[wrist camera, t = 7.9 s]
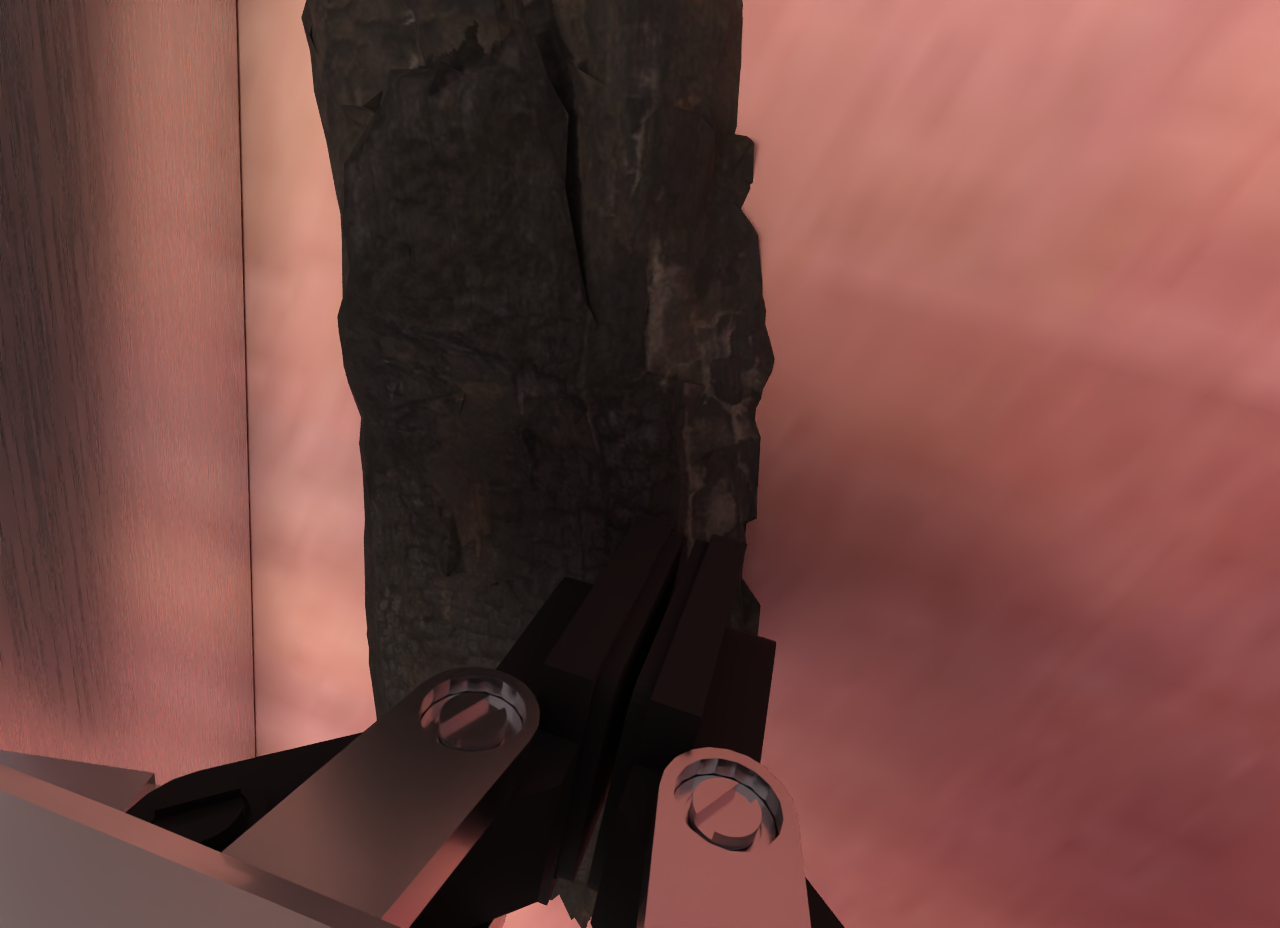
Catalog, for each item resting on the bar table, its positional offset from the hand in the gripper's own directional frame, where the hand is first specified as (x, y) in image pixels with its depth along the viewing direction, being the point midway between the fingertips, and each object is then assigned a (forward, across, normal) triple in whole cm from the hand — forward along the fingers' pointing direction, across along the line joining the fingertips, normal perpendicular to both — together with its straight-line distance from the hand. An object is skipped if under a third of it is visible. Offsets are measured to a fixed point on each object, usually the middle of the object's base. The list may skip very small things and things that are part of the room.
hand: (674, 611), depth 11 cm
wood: (+2, +3, -1) cm, 4 cm away
